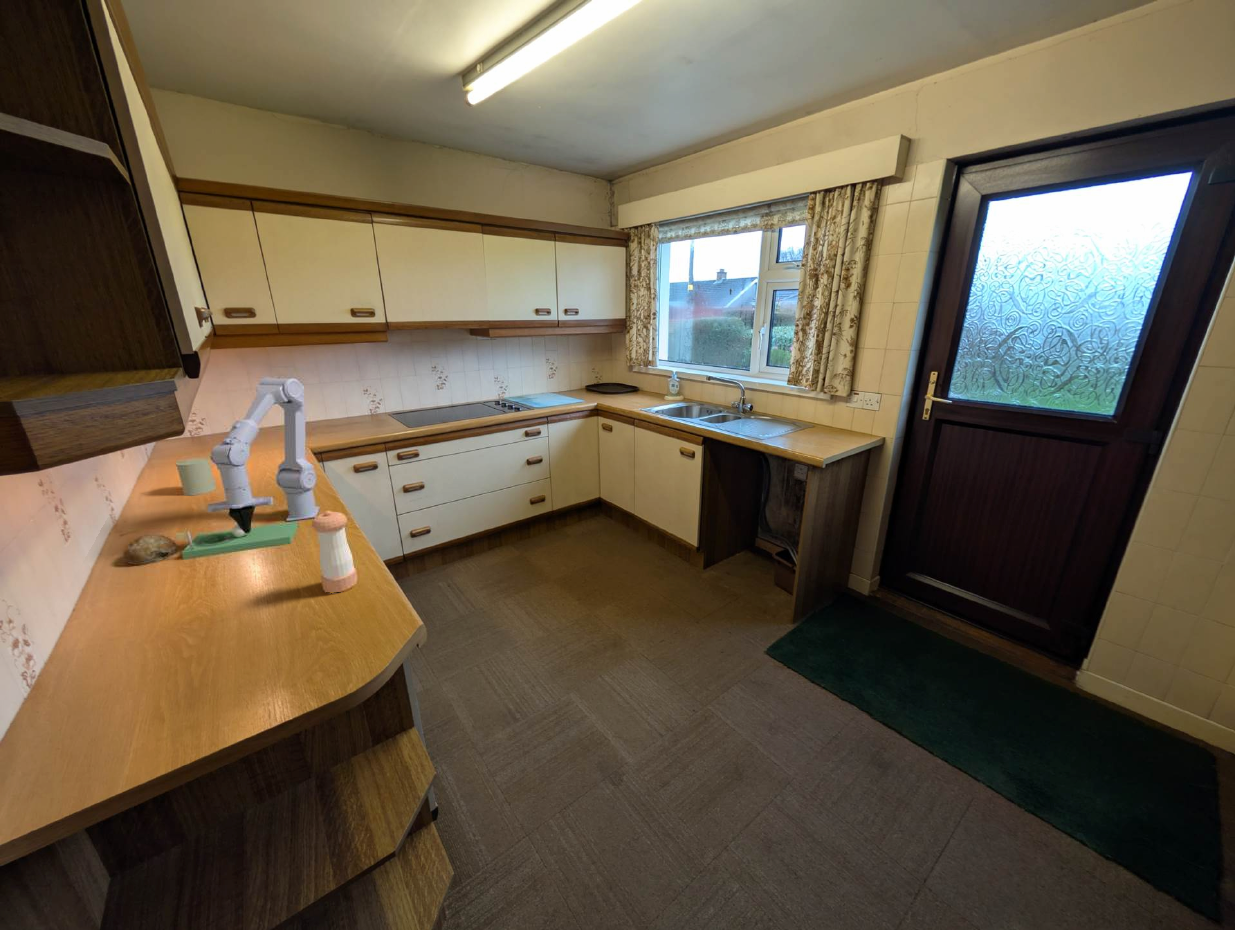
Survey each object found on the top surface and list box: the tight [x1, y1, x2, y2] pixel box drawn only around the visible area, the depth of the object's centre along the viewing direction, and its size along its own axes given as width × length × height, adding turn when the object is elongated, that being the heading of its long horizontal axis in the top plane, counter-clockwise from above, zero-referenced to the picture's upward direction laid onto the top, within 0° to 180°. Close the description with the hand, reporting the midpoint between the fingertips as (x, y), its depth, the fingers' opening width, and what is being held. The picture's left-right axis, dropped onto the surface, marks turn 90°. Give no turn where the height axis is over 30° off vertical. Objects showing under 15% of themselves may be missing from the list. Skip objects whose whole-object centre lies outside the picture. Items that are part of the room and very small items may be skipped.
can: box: [175, 457, 217, 496], centre depth 173 cm, size 9×9×12 cm
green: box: [175, 520, 299, 560], centre depth 135 cm, size 12×24×7 cm, turn 114°
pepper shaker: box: [311, 510, 358, 593], centre depth 112 cm, size 7×7×19 cm
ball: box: [231, 524, 247, 537], centre depth 134 cm, size 4×4×4 cm
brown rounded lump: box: [122, 533, 178, 566], centre depth 126 cm, size 10×10×8 cm
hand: (247, 531), depth 135 cm, fingers closed, pressing on ball
